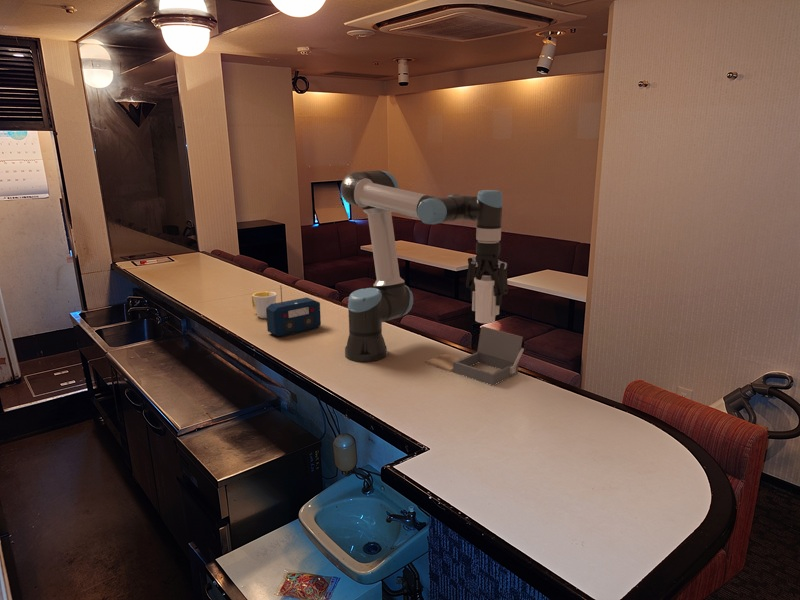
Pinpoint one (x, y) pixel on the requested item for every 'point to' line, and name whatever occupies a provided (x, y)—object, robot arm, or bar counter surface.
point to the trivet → (443, 361)
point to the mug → (263, 302)
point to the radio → (293, 316)
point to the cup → (484, 299)
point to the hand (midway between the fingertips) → (485, 312)
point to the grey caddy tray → (492, 356)
